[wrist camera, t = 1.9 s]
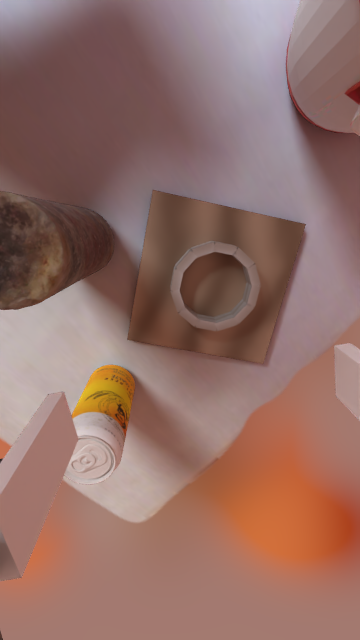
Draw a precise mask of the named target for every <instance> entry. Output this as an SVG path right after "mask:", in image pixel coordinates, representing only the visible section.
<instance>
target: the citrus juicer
mask: <svg viewBox="0 0 360 640" xmlns="http://www.w3.org/2000/svg"><path fill="white" fill-rule="evenodd" d="M286 74H287V84H288V88H289V92H290V95H291V98H292V100H293V102H294V104H295V106H296V108H297V109H298V111H299V112H300V113H301V114H302V116H303V117H304V118H306V119H307V120H308V121H309V122H311V123H312V124H314V125H316V126H318V127H320V128H322V129H324V130H327V131H331V132H336V133H355V134H357V135H358V136H360V0H301V1H300V4H299V7H298V10H297V13H296V16H295V19H294V23H293V27H292V31H291V34H290V39H289V43H288V47H287V57H286Z"/></svg>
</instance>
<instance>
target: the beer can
mask: <svg viewBox="0 0 360 640" xmlns="http://www.w3.org/2000/svg"><path fill="white" fill-rule="evenodd" d="M134 390H135V382H134V379H133V377H132V375H131V374H130V373H129V372H128V371H127V370H126V369H124V368H123V367H120V366H117V365H105V366H102V367H100V368H98V369H97V370H95V371H94V372H93V374H92V375H91V377H90V379H89V381H88V383H87V385H86V387H85V389H84V391H83V393H82V395H81V397H80V399H79V401H78V403H77V405H76V408H75V410H74V412H73V414H72V419H73V423H74V426H75V429H76V432H77V435H78V439H79V440H78V442H77V445H76V447H75V450H74V452H73V454H72V457H71V459H70V462H69V464H68V466H67V469H66V471H65V474H64V476H66V477H67V478H68V479H70V480H71V481H73V482H76V483H79V484H85V485H91V484H97V483H100V482H102V481H104V480H106V479H107V478H108V477H109V476H110V475H111V474H112V473H113V471H114V470H115V469H116V468H117V467H118V465H119V463H120V461H121V457H122V452H123V447H124V442H125V437H126V431H127V426H128V421H129V416H130V411H131V405H132V400H133V395H134Z"/></svg>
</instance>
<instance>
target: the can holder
mask: <svg viewBox="0 0 360 640" xmlns="http://www.w3.org/2000/svg"><path fill="white" fill-rule="evenodd" d="M305 225H306V224H302V223H298V222H293V221H289V220H284V219H280V218H276V217H271V216H267V215H262V214H258V213H253V212H249V211H244V210H240V209H236V208H231V207H227V206H222V205H218V204H213V203H209V202H204V201H200V200H196V199H191V198H187V197H182V196H178V195H173V194H169V193H164V192H160V191H156V190H153V192H152V198H151V204H150V210H149V216H148V221H147V227H146V233H145V239H144V245H143V251H142V257H141V262H140V268H139V274H138V280H137V286H136V292H135V298H134V303H133V309H132V315H131V321H130V327H129V333H128V339H127V340H132V341H138V342H143V343H149V344H155V345H160V346H166V347H171V348H177V349H183V350H188V351H194V352H200V353H205V354H211V355H216V356H222V357H228V358H233V359H239V360H244V361H250V362H256V363H261V364H263V362H264V359H265V356H266V353H267V349H268V346H269V343H270V340H271V336H272V333H273V330H274V327H275V323H276V320H277V317H278V314H279V310H280V307H281V304H282V300H283V297H284V294H285V291H286V287H287V284H288V281H289V278H290V274H291V271H292V268H293V265H294V261H295V258H296V255H297V252H298V248H299V245H300V242H301V239H302V235H303V232H304V229H305Z"/></svg>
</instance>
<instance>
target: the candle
mask: <svg viewBox="0 0 360 640" xmlns="http://www.w3.org/2000/svg"><path fill="white" fill-rule="evenodd" d="M113 249H114V241H113V235H112V232H111V229H110V226H109V224H108V223H107V222H106V220H105V219H103V218H102V217H101V216H100V215H99V214H97V213H96V212H94V211H92V210H89V209H85V208H81V207H77V206H71V205H66V204H60V203H56V202H52V201H46V200H41V199H36V198H32V197H27V196H22V195H18V194H14V193H10V192H3V191H0V309H1V310H10V309H14V310H16V309H21V308H24V307H28V306H33V305H35V304H38V303H40V302H42V301H44V300H45V299H47V298H49V297H51V296H53V295H55V294H56V293H58V292H60V291H62V290H63V289H65V288H67V287H69V286H70V285H72V284H74V283H75V282H77V281H79V280H81V279H83V278H85V277H87V276H89V275H91V274H93V273H94V272H96V271H98V270H100V269H101V268H103V267H104V266H105V265H106V264H107V263H108V262H109V260H110V259H111V256H112V254H113Z"/></svg>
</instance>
